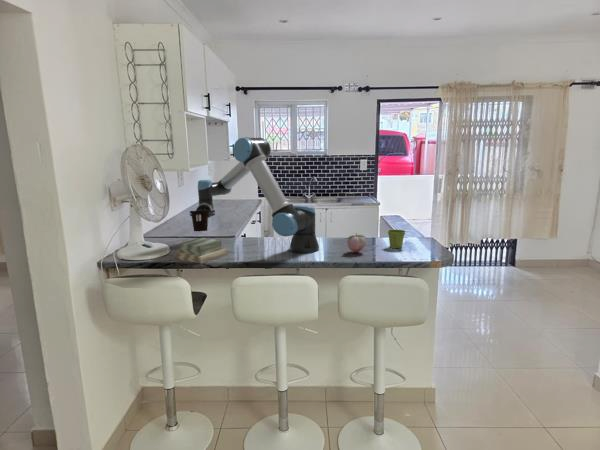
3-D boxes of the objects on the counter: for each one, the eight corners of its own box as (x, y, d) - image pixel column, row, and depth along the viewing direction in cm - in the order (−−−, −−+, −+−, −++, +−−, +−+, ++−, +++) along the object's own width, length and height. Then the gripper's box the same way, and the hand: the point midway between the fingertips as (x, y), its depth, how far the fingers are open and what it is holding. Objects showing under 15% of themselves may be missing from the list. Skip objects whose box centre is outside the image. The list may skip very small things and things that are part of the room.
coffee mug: (197, 230, 198) (197, 210, 197) (212, 230, 195) (212, 210, 195) (184, 231, 187) (183, 211, 186) (199, 231, 184) (199, 210, 184)
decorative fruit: (360, 249, 201) (360, 230, 199) (368, 253, 194) (368, 233, 192) (343, 251, 198) (343, 232, 196) (351, 255, 191) (351, 235, 189)
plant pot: (391, 244, 212) (391, 228, 210) (407, 246, 206) (408, 230, 205) (383, 247, 204) (384, 231, 202) (401, 250, 199) (401, 233, 197)
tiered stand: (227, 254, 197) (226, 240, 195) (201, 263, 182) (200, 248, 180) (202, 250, 206) (201, 236, 205) (175, 258, 191) (173, 243, 190)
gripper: (217, 217, 210) (213, 225, 187) (191, 218, 208) (184, 226, 185) (216, 203, 209) (212, 210, 186) (190, 204, 207) (183, 211, 184)
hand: (198, 218), depth 186 cm, fingers closed on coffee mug
